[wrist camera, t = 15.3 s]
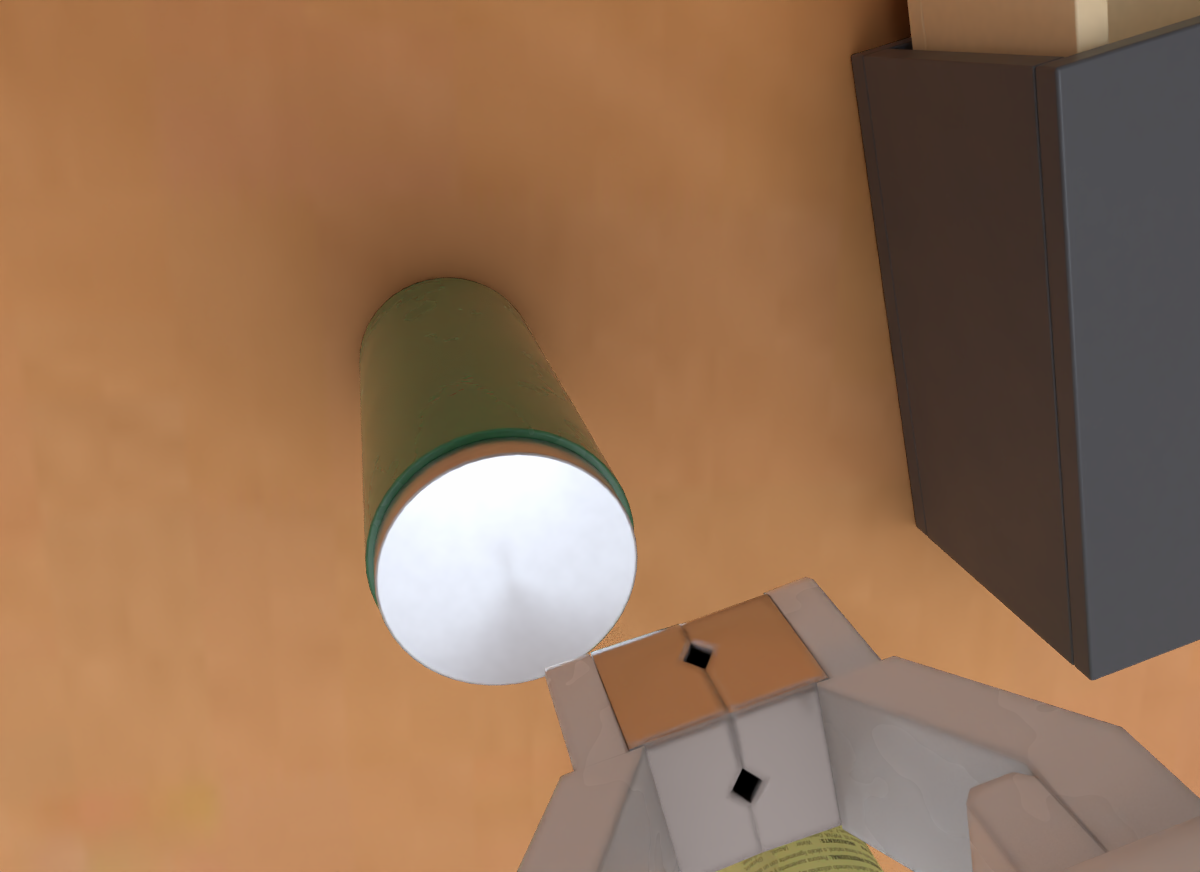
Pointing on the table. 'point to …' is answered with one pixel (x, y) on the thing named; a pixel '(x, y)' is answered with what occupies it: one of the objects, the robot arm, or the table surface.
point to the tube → (814, 855)
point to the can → (483, 492)
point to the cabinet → (1049, 325)
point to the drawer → (1037, 24)
